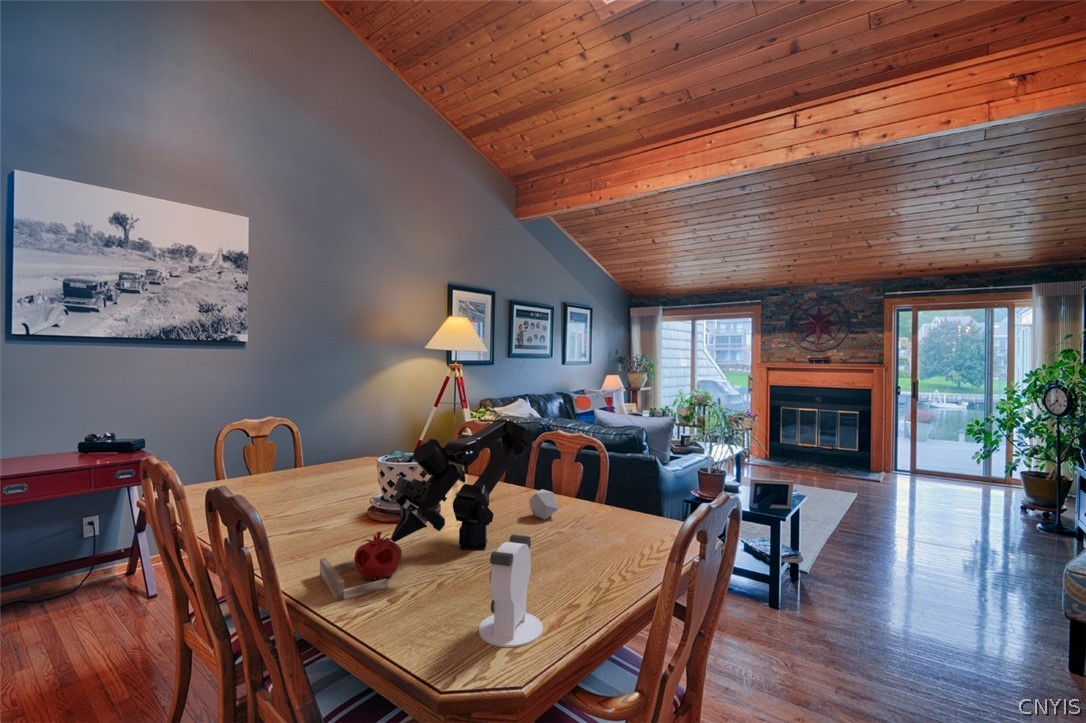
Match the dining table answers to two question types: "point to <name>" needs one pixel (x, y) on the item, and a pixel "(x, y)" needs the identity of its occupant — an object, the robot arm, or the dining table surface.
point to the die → (543, 504)
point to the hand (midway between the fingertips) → (392, 540)
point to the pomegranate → (377, 558)
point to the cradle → (337, 583)
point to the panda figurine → (510, 597)
